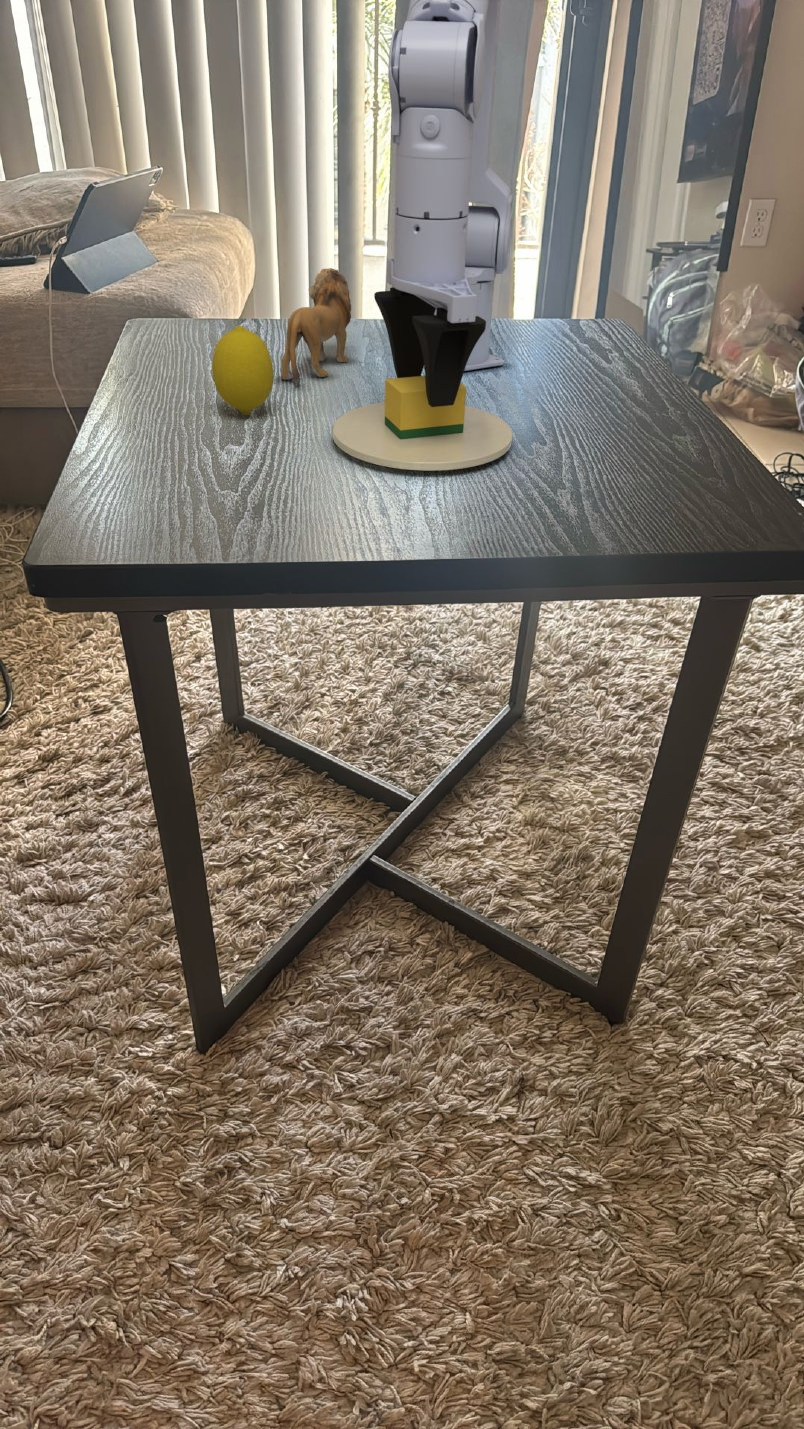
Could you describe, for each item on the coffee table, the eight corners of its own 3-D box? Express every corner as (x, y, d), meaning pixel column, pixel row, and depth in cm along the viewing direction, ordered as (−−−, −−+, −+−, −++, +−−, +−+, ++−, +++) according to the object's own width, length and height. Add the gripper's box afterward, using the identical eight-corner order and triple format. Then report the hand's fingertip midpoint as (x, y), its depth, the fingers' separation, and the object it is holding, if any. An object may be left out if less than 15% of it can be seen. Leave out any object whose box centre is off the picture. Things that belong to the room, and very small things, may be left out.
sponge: (384, 424, 82) (385, 379, 79) (445, 418, 83) (448, 373, 81) (400, 439, 79) (401, 393, 76) (463, 432, 80) (466, 387, 78)
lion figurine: (313, 348, 105) (311, 263, 100) (358, 352, 105) (358, 266, 99) (273, 386, 94) (268, 291, 88) (323, 390, 93) (321, 296, 88)
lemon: (234, 402, 89) (226, 315, 85) (285, 410, 88) (280, 322, 83) (206, 419, 85) (196, 329, 80) (259, 428, 84) (253, 336, 79)
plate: (302, 429, 84) (301, 415, 83) (447, 404, 91) (448, 391, 90) (390, 491, 73) (390, 475, 72) (547, 457, 80) (549, 443, 79)
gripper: (519, 228, 67) (502, 413, 75) (442, 199, 77) (435, 363, 86) (430, 231, 65) (422, 421, 73) (364, 201, 75) (364, 369, 83)
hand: (424, 391), depth 79 cm, fingers open, 7 cm apart
